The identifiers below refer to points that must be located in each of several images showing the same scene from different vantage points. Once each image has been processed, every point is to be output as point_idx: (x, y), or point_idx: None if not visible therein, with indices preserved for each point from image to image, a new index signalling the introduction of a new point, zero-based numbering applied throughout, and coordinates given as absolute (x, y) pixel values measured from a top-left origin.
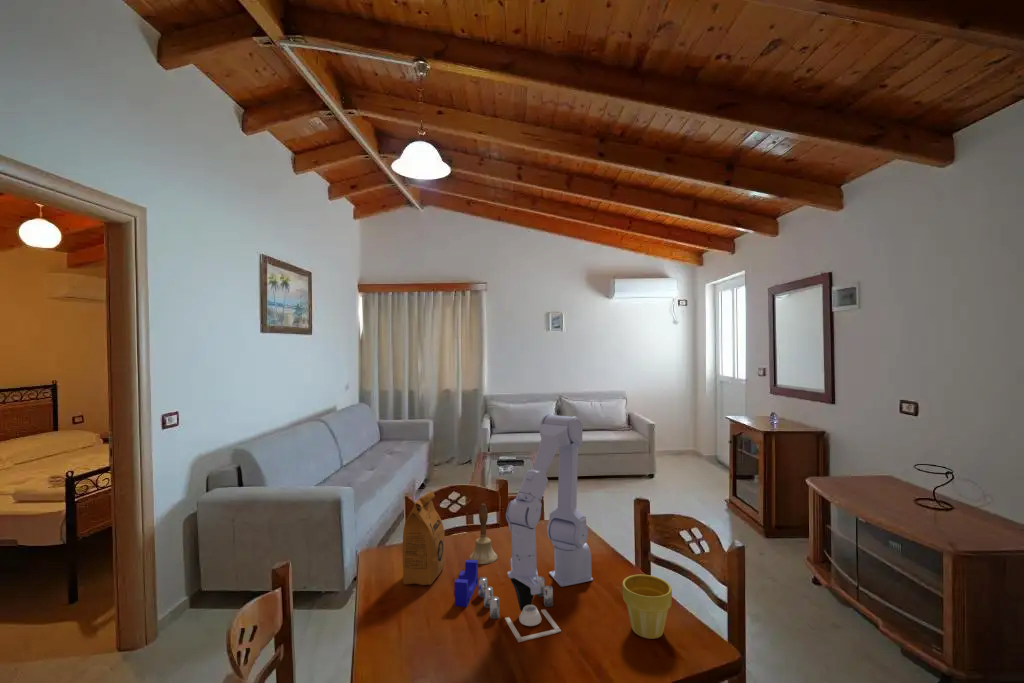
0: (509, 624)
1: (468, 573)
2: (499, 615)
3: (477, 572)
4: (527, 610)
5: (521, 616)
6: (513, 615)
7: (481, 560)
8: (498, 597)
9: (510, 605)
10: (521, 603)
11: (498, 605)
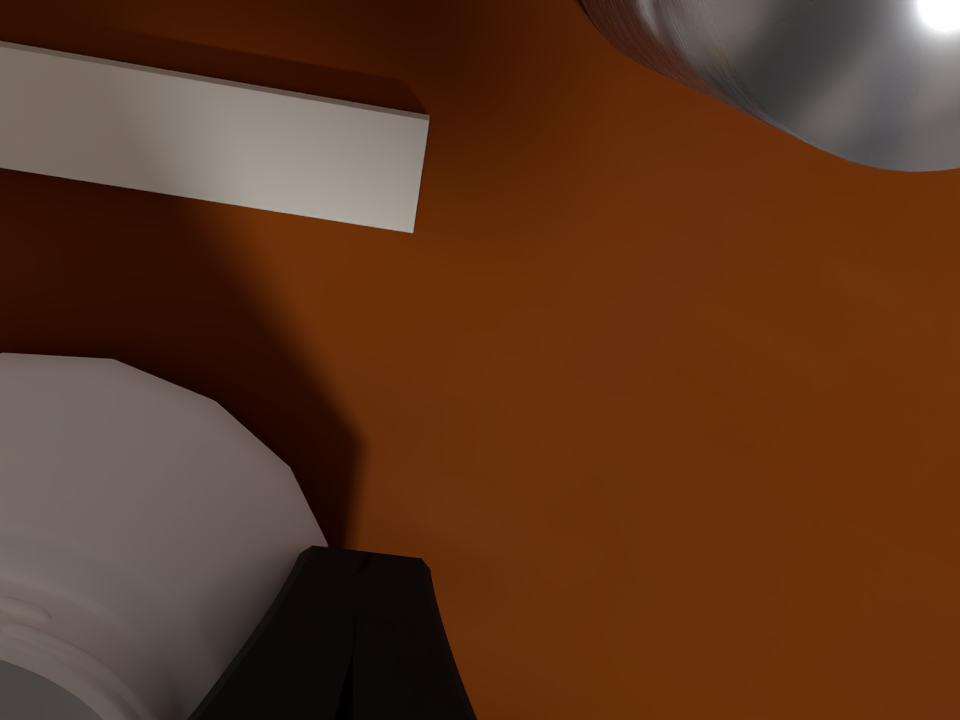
0: (96, 84)
1: None
2: (630, 57)
3: None
4: None
5: (21, 453)
6: (472, 366)
7: None
8: (938, 170)
9: (842, 481)
10: (198, 716)
11: (659, 21)
